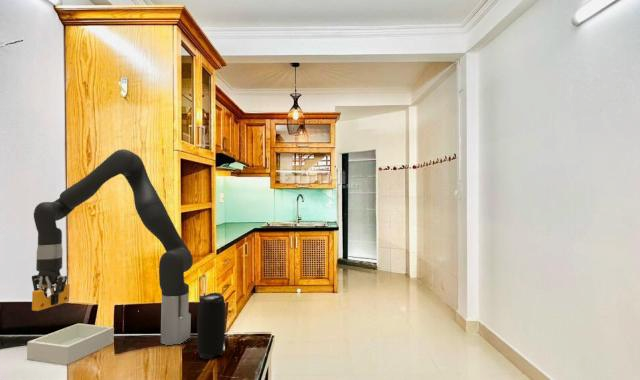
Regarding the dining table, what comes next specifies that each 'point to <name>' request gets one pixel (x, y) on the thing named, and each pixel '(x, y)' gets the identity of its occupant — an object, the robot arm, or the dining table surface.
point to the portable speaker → (211, 325)
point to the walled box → (70, 343)
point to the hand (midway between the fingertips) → (48, 303)
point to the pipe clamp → (48, 299)
